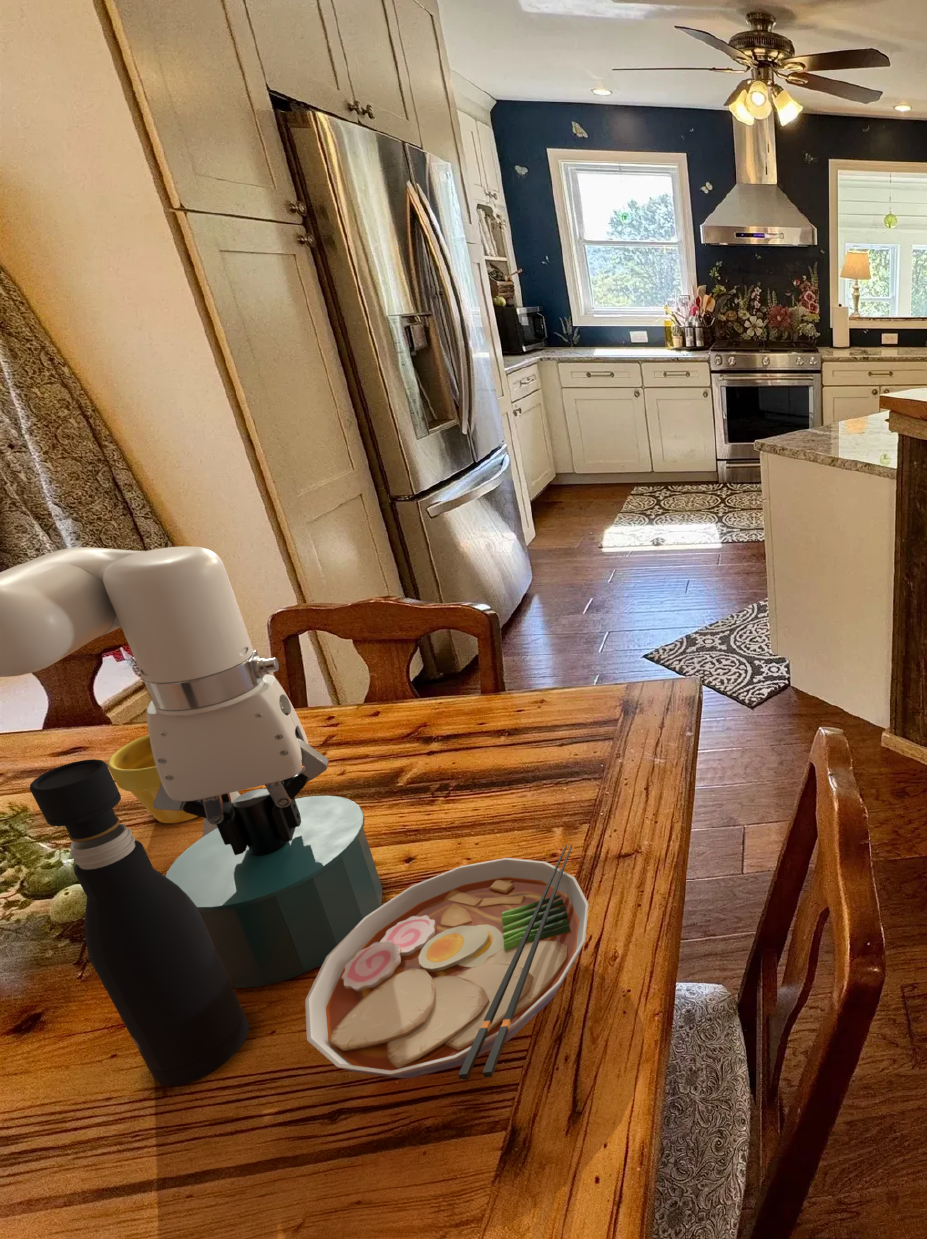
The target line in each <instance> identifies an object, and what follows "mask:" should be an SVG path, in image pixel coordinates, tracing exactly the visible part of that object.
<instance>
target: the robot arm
mask: <svg viewBox="0 0 927 1239" xmlns="http://www.w3.org/2000/svg"><path fill="white" fill-rule="evenodd" d="M120 628H121V630H122V632H123V634H124V637H125V640H126V642H127V644H128V646H129V650H130V651H131V654H132V656H133V658H134V661H135V663H136V666H137V668H138V670H139V673H140V675H141V677H142V680H143V683H144V684H145V687H146V689H147V692H148V694H149V696H150V699H151V701H150V702H149V703H148V706H147V707H146V721H147V722H146V723H147V731H148V734H149V738H150V744H151V749H152V754H153V758H154V761H155V765H156V768H157V771H158V774H159V777H160V780H161V785H160V787H159V790H158V793H157V795H156V798H155V801H154V803H153V807H154V808H156V809H161V810H173V811H180V810H183V811H185V812H186V813H189V814H193V815H196V816H198V817H199V818H200V817H201V818H203V819H204V818H206V819H207V821H208V822H209V823H210V824H216V825H217V827H218V830H219V832H220V834H221V837H222V839H223V842H224V844H225V845H228V844H231V847H232V849H233V852H234V854H235V855H238V854H242V853H243V852H244V851H245V850H246V848H247V843H246V840H245V837H244V835H243V832H242V830H241V827H240V825H239V822H238V820H237V817H236V815H235V812H234V810H233V807H232V803H231V797H230V793H232V792H236V791H238V792H240V791H244V790H249V789H252V788H257V787H261V786H264V787H265V789H267V790H268V792H269V794H270V796H271V797H272V799H273V801H274V802H273V804H274V806H273V809H272V817H273V819H274V822H275V825H276V827H277V830H278V833H279V835H280V838H281V841H284V842H288V841H291V840H292V838H293V834H294V831H295V828H296V827H299V826H300V824H301V816H300V813H299V810H298V807H297V804H296V801H295V799H296V798H295V797H297V795H298V794H299V793H300V792H301V791H302V789H303V788H304V787H305V786H306V785H307V783H309V782H310V781H312V780H314V779H315V778H317V777H318V776H320V775H322V774H323V773H325V772H326V771H327V769H328V767H329V763H330V760H329V758H328V757H326V756H325V755H324V754H322V752H321V753H320V752H319V751H318V750H316V748H314V747H313V746H311V745H310V744H309V740H308V737H307V734H306V732H305V729H304V727H303V725H302V723H301V721H300V718H299V716H298V714H297V712H296V710H295V708H294V706H293V704H292V702H291V700H290V699H289V697H288V694H287V693H286V691H285V690H284V688H283V686H282V685H281V683H280V682H279V680H278V679H277V678H276V677H275V676H274V675H272V674H270V673H274V672H279V670H280V664H279V661H278V658H277V657H269V658H267V657H261V655H259V653H258V650H256V649H254V647H253V645H252V642H251V639H250V636H249V632H248V629H247V627H246V624H245V620H244V617H243V616H242V612H241V610H240V606H239V604H238V601H237V598H236V595H235V592H234V590H233V587H232V584H231V581H230V577H229V575H228V571H227V568H226V567H225V564H224V562H223V560H222V559H221V557H220V556H219V555H218V554H217V553H216V552H214V551H212V550H210V549H208V548H205V547H201V546H190V545H189V546H169V547H161V548H155V549H149V550H130V549H119V548H118V549H117V548H106V547H105V548H104V547H91V546H87V547H85V546H83V547H82V546H81V547H68V548H62V549H58V550H55V551H51V552H48V553H45V554H43V555H40V556H37V557H36V558H34V559H31V560H27V561H26V562H24V563H20V564H17V565H15V566H12V567H10V568H8V569H5V570H3V571H0V678H10V677H19V676H24V675H28V674H34V673H35V672H39V671H41V670H44V669H46V668H49V667H50V666H52V665H54V664H55V663H57V662H59V661H61V660H62V659H64V658H66V657H67V656H70V655H71V654H72V653H74V652H76V651H77V650H79V649H81V648H82V647H84V646H85V645H87V644H89V643H90V642H92V641H94V640H96V639H97V638H100V637H102V636H105V635H107V634H109V633H111V632H114V631H116V630H119V629H120Z"/></svg>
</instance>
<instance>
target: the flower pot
mask: <svg viewBox="0 0 927 1239" xmlns="http://www.w3.org/2000/svg"><path fill="white" fill-rule="evenodd" d="M107 767H108V769H109V771H110V773H111V775H112V778H113V780H114V782H115V784H116V786H117V787H118V788H120V790H123V791H125V792H130V793H131V794H132V795H133V796H134V797H135V798H136V799H137V801H139V802H140V804H142V806H144V808H145V809H146V810H147V811H148V812H149V813H150V814H151V815H152V816H153V817H154V818H155V820H156V821H158V822H160V823H161V824H178V823H183V822H186V821H190V820H194V819H196V818H198V817H199V816H196V815H193V814H189V813H186V812H185V811H183V810H180V811H173V810H161V809H156V808H154V807H153V803H154V801H155V798H156V795H157V793H158V790H159V787H160V785H161V780H160V777H159V774H158V771H157V768H156V765H155V761H154V758H153V754H152V749H151V744H150V738H149V733H147V734H145V735H143V736H141V737H139V738H136V739H134V740H132V741H130V742H128V743H127V744H125V745H123V746H121V747H120V748H119V749H117V750H116V751H115V752H114V753H113V754H112V755H111V756H110V757H109V759H108V762H107Z"/></svg>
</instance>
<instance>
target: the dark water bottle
mask: <svg viewBox="0 0 927 1239" xmlns="http://www.w3.org/2000/svg"><path fill="white" fill-rule="evenodd" d="M118 788H119V787H118V785H117V783H116V782H115V780H114V778H113V776H112V774H111V772H110V770H109V767H108V764H107V762H106V761H104V760H103V759H94V758H93V759H92V758H91V759H84V760H83V759H82V760H76V761H73V762H69V763H66V764H62V765H60V766H57V767H54V768H52V769H50V770H48V771H46V772H44V773H42V774H40V775H38V777H36V778H34V780H33V781H32V782H31V783H30V784H29V790H30V792H31V794H32V796H33V798H34V800H35V802H36V804H37V806H38V808H39V810H40V812H41V814H42V816H43V818H44V819H45V822H46V823H47V824H48V825H49V826H51V827H57V828H58V827H65V830H66V831H67V833H68V838H69V840H70V841H71V844H70V847H69V848H70V850H69V856H70V857H72V859H73V863H74V866H73V873H74V875H75V877H76V879H77V881H78V883H79V885H80V886H81V888H82V891H83V892H84V894H85V896H86V902H85V912H84V913H85V914H84V936H85V944H86V951H87V953H88V954H87V955H88V960H89V962H90V963H91V965H92V967H93V969H94V970H95V972H96V974H97V976H98V978H99V980H100V982H101V984H102V985H103V987H104V989H105V991H106V993H107V995H108V996H109V999H110V1001H111V1002H112V1004H113V1006H114V1007H115V1009H116V1011H117V1013H118V1015H119V1017H120V1018H121V1021H122V1023H123V1024H124V1026H125V1028H126V1030H127V1031H128V1033H129V1035H130V1037H131V1039H132V1041H133V1043H134V1045H135V1046H136V1049H137V1050H138V1052H139V1054H140V1055H141V1057H142V1059H143V1061H144V1063H145V1065H146V1066H147V1069H148V1071H149V1072H150V1074H151V1076H152V1078H153V1079H154V1081H155V1082H157V1083H158V1084H159V1085H161V1086H168V1087H174V1086H180V1085H185V1084H189V1083H191V1082H193V1081H196V1080H199V1079H201V1078H203V1077H205V1076H206V1075H209V1074H210V1073H212V1072H214V1071H215V1070H217V1069H218V1068H219V1067H221V1066H223V1065H224V1064H225V1063H226V1062H228V1061H229V1060H230V1059H231V1058H232V1057H233V1056H234V1055H235V1054H236V1053H237V1052H238V1051H239V1050H240V1049H241V1048H242V1046H243V1044H244V1042H245V1041H246V1040H247V1038H248V1035H249V1032H250V1025H249V1020H248V1019H247V1017H246V1014H245V1012H244V1010H243V1008H242V1004H241V1003H240V1001H239V998H238V996H237V994H236V992H235V989H234V987H232V985H231V983H230V980H229V978H228V976H227V974H226V971H225V969H224V967H223V965H222V962H221V960H220V958H219V956H218V953H217V951H216V949H215V947H214V944H213V942H212V940H211V938H210V935H209V933H208V931H207V929H206V926H205V924H204V922H203V920H202V917H201V915H200V913H199V911H198V909H197V906H196V905H195V904H194V902H193V901H192V900H191V899H190V898H189V896H188V895H187V894H186V893H185V892H184V891H183V890H182V889H181V888H180V887H179V886H178V885H176V884H175V883H174V882H172V881H171V880H170V879H168V878H167V877H165V876H166V875H164V874H162V872H160V871H159V870H157V869H155V868H154V866H153V863H152V862H151V860H150V858H149V856H148V854H147V852H146V850H145V847H144V845H143V843H142V842H141V841H139V840H137V839H136V837H135V836H134V835H133V831H132V828H129V827H127V825H125V824H124V823H121V822H120V818H119V817H118V816H116V813H115V810H114V807H116V806H117V805H118V804H119V803H120V801H121V800H122V795H121V793H120V791H119V789H118Z"/></svg>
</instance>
